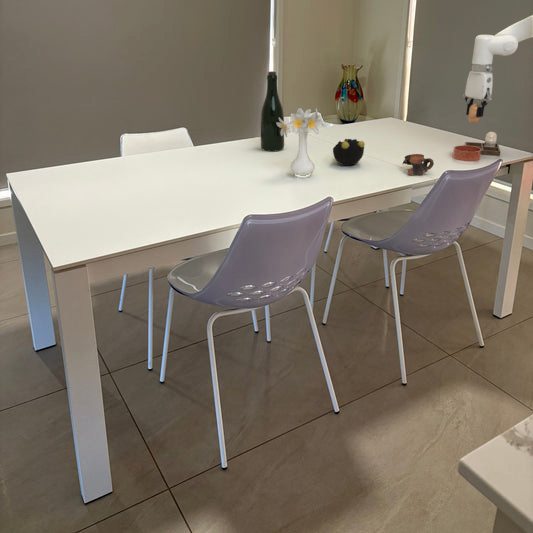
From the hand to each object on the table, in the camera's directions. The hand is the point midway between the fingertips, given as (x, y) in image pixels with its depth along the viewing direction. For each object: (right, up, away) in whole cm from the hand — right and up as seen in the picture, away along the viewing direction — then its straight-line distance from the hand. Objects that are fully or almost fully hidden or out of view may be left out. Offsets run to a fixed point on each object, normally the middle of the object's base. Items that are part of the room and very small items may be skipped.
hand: (474, 115), depth 239 cm
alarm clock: (-52, -20, 0) cm, 56 cm away
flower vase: (-71, -27, -15) cm, 78 cm away
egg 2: (+12, -11, +17) cm, 23 cm away
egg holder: (+8, -12, +15) cm, 21 cm away
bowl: (-2, -17, +5) cm, 18 cm away
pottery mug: (-26, -25, -12) cm, 38 cm away
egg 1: (0, -3, +1) cm, 3 cm away
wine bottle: (-82, -9, +24) cm, 86 cm away
